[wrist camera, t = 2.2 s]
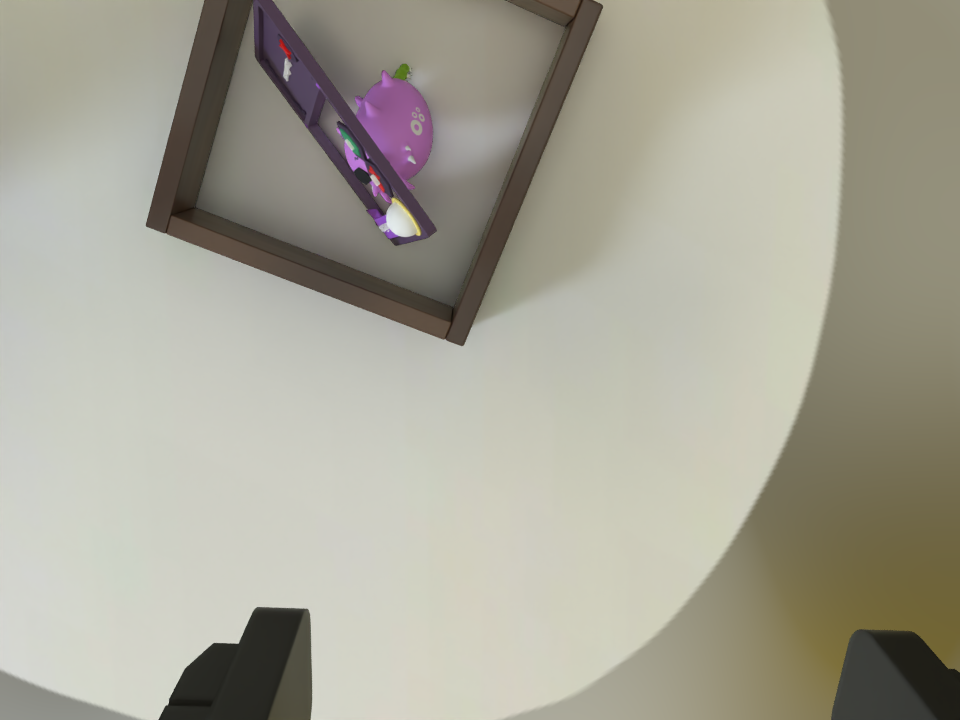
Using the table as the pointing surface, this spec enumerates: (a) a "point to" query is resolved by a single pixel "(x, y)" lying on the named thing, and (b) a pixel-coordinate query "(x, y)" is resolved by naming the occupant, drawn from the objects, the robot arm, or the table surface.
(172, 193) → the brown square frame
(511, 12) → the table surface
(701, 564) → the table surface
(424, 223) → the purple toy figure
